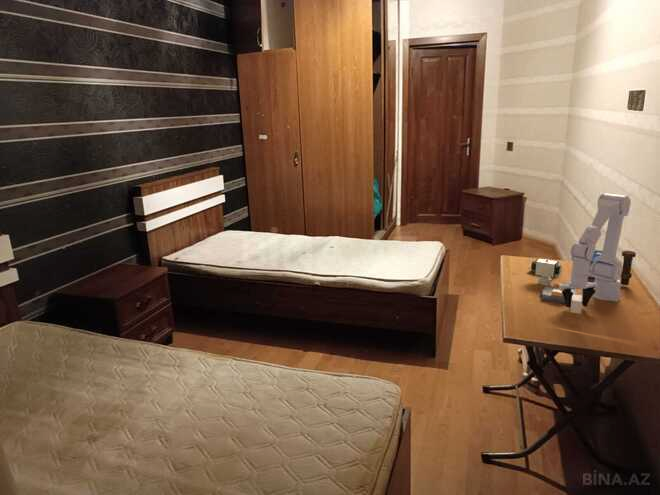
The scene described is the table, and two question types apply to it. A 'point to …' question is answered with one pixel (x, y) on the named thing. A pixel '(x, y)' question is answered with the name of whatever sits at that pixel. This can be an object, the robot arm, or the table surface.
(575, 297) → the block
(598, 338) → the table surface
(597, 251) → the label tape cartridge
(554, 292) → the motor housing
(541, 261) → the pneumatic valve
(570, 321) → the table surface
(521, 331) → the table surface
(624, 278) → the bolt
